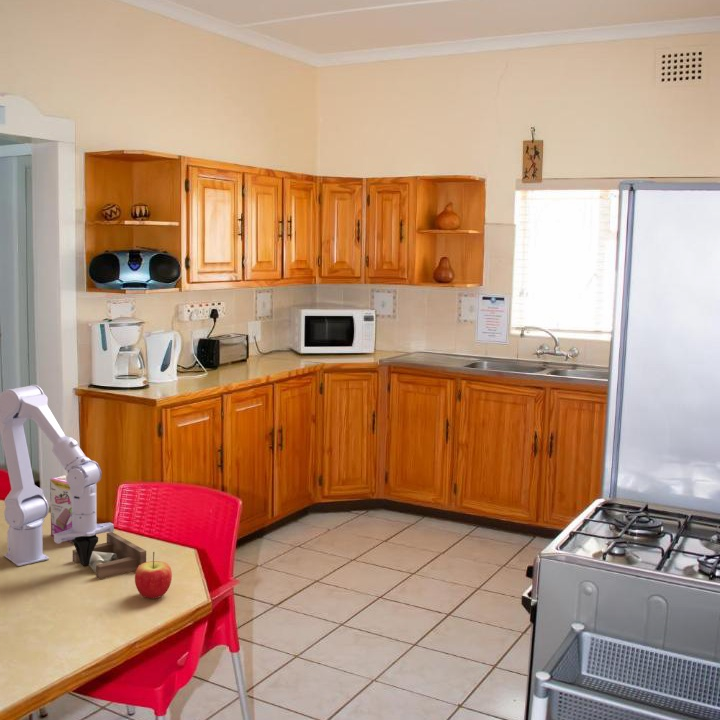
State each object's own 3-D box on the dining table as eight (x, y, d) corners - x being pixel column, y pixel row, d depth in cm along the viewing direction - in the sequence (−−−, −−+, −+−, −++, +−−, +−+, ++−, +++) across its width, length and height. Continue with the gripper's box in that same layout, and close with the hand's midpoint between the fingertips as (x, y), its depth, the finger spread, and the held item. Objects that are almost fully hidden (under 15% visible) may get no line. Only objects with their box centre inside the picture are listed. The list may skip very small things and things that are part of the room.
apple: (172, 588, 201) (172, 547, 200) (170, 602, 193) (171, 560, 191) (136, 589, 200) (136, 548, 198) (133, 604, 191) (133, 561, 190)
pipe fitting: (103, 576, 208) (117, 564, 215) (102, 561, 207) (116, 550, 214) (73, 572, 210) (88, 561, 216) (73, 557, 209) (87, 546, 216)
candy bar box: (49, 536, 233) (48, 478, 231) (64, 532, 237) (64, 474, 235) (76, 545, 227) (76, 485, 225) (91, 540, 231) (91, 481, 229)
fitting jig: (70, 559, 217) (69, 540, 216) (112, 550, 224) (111, 531, 224) (102, 581, 204) (102, 561, 203) (146, 570, 211) (146, 550, 211)
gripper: (62, 521, 200) (63, 576, 202) (119, 510, 210) (119, 563, 212) (50, 513, 205) (50, 568, 207) (106, 503, 215) (106, 555, 217)
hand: (84, 565), depth 210 cm, fingers closed
